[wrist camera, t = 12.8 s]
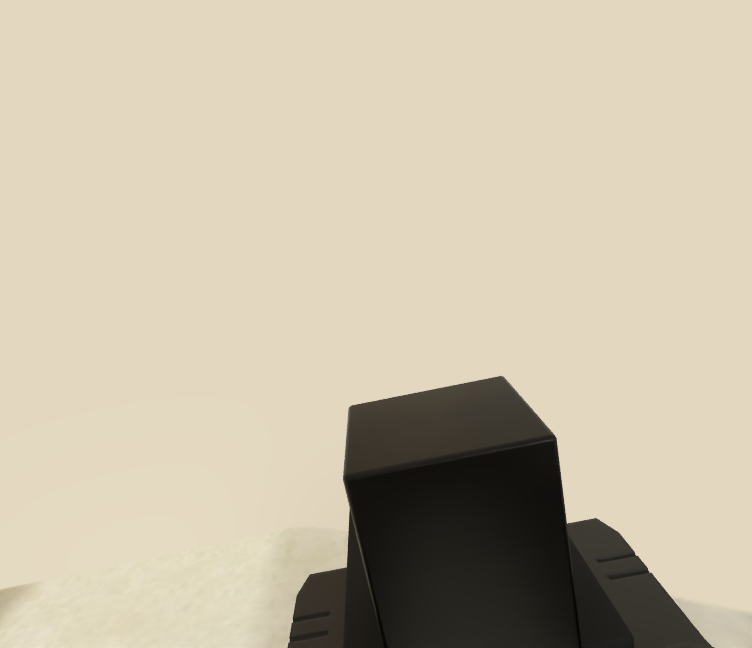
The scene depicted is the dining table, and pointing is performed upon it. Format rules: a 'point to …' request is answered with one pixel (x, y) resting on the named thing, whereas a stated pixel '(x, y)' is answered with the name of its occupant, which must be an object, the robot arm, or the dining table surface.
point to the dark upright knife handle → (461, 519)
